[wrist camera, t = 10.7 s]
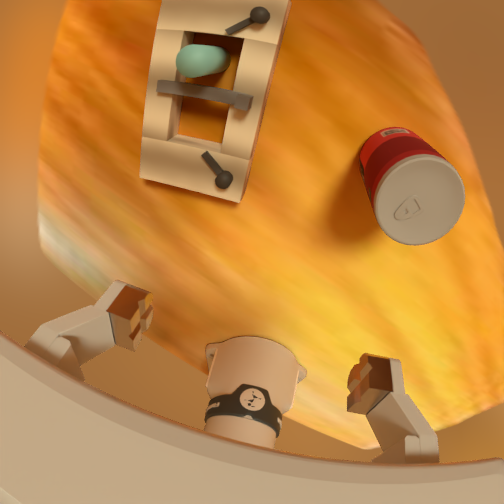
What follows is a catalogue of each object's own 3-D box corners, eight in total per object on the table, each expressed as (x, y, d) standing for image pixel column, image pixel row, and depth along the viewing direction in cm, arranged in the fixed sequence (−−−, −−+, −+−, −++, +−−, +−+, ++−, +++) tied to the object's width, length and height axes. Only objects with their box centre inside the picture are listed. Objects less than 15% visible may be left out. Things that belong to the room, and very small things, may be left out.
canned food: (343, 164, 31) (354, 210, 23) (389, 109, 27) (424, 134, 18) (392, 205, 33) (416, 262, 24) (438, 156, 28) (481, 200, 19)
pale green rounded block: (233, 48, 26) (212, 46, 21) (227, 75, 28) (206, 79, 22) (205, 44, 26) (178, 42, 21) (200, 70, 28) (173, 75, 22)
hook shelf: (245, 191, 35) (234, 212, 31) (151, 168, 36) (130, 185, 32) (291, 3, 22) (287, -8, 18) (178, -10, 23) (155, -19, 18)
